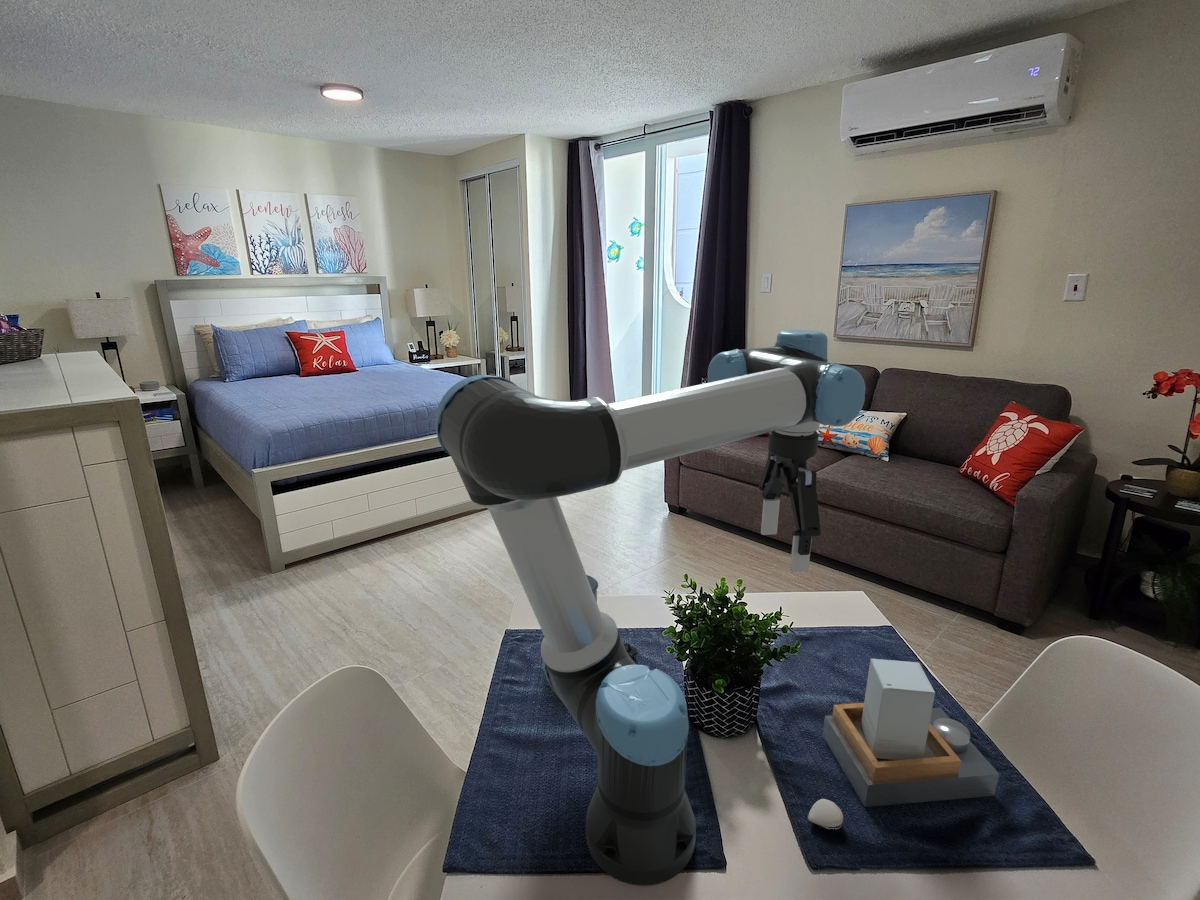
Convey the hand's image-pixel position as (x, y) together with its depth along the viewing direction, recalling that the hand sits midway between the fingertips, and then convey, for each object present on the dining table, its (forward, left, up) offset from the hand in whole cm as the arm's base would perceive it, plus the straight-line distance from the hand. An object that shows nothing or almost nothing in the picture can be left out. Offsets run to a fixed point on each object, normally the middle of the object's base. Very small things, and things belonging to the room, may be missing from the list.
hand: (783, 551), depth 104 cm
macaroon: (-2, -27, -29) cm, 39 cm away
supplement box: (+12, -18, -25) cm, 33 cm away
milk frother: (-31, +15, -29) cm, 45 cm away
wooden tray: (+15, -18, -29) cm, 37 cm away
